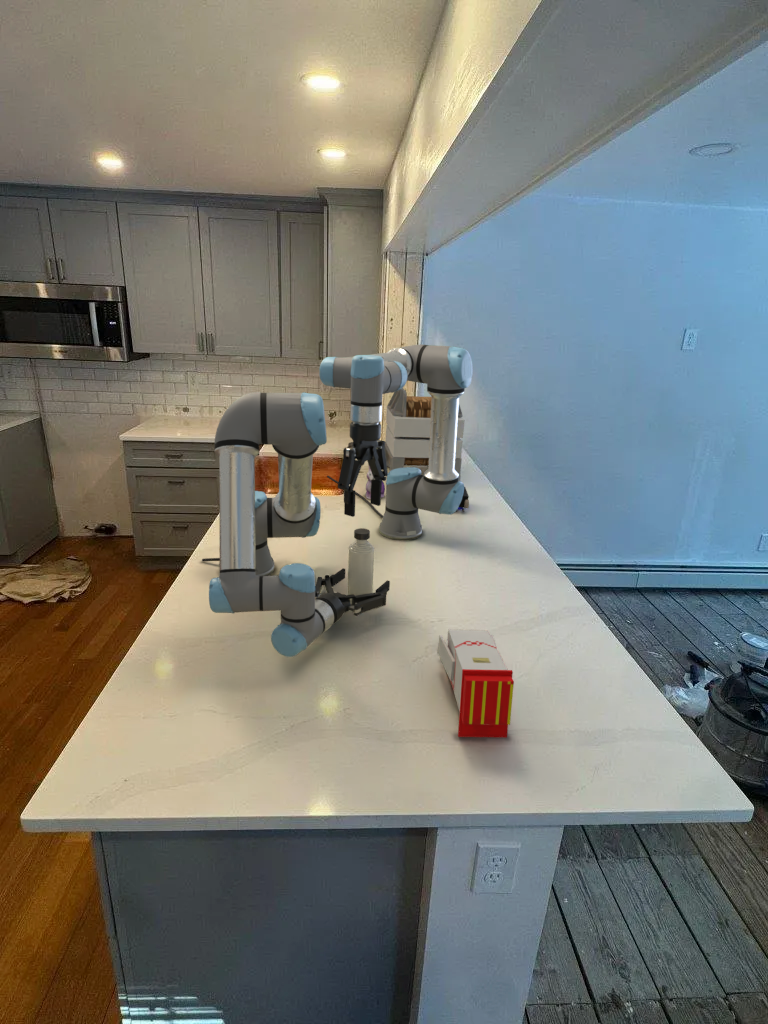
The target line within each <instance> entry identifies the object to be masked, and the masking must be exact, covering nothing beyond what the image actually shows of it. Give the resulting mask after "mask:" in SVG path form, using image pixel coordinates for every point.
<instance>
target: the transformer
mask: <svg viewBox="0 0 768 1024" xmlns="http://www.w3.org/2000/svg"><path fill="white" fill-rule="evenodd" d="M407 394H408V393H407V390H406V389H404V387H403V388H402V389H400V390H397V391H396V392H393V394H392V395H391V398H390V400H389V402H388V404H387V405H386V413H385V414H386V415H385V423H386V428H385V438H384V441H385V449H384V450H385V457H386V464H387V468H389V472H390V471H391V470H393V469H397V468H404V467H405V466H406V467H410V466H411V467H417V466H418V467H428V466H429V444H430V422H431V399H432V397H431V396H415V395H414V396H413V395H412V396H411V395H407ZM464 429H465V419H464V418H463V411H462V408H461V405H460V404H459V407H458V423H457V438H456V454H455V471H456V472H457V473H458V474H459V479H458V481H461V472H462V461H463V460H462V453H463V442H464V441H463V440H462V439H463V438H464V431H465V430H464Z"/></svg>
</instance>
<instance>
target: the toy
mask: <svg viewBox="0 0 768 1024" xmlns="http://www.w3.org/2000/svg"><path fill="white" fill-rule="evenodd" d="M446 640H447V643H446V641H445V639H444V636H443V635H442V634H439V637H438V646H437V656H438V657H439V659H440V661H441V663H442V666H443V668H444V670H445V672H446V674H447V677H448V679H449V681H450V684H451V687H452V690H453V693H454V697H455V701H456V705H457V708H458V711H459V714H458V715H459V716H458V730H457V731H458V732H457V737H458V738H508V731H509V726H510V725H511V717H512V707H513V697H514V696H513V695H514V684H515V680H514V679H513V673H514V671H513V670H512V669H508V667H507V665H506V662H505V661H504V659H503V658H502V655H501V653H500V651H499V649H498V647H497V643H496V639H495V637H494V635H493V634H491V632H490V631H489V629H467V628H466V629H465V628H463V629H461V628H460V629H459V628H448V630H447V639H446Z"/></svg>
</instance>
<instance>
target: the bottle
mask: <svg viewBox="0 0 768 1024" xmlns="http://www.w3.org/2000/svg"><path fill="white" fill-rule="evenodd" d="M347 558H348V560H347V563H348V564H347V595H350V594H354V595H362V594H368V593H374V569H375V568H374V567H375V547H374V545H373V544H372V543H371V542H370V541H369V540H368V539H367V540H357V539H355V540H354V541H353V542H352V543H350V545H349V546H348V556H347ZM350 603H351V604H352V599H350Z"/></svg>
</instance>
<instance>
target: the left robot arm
mask: <svg viewBox="0 0 768 1024" xmlns="http://www.w3.org/2000/svg"><path fill="white" fill-rule="evenodd" d="M322 397H323V396H321V395H320V394H318V393H307V392H305V391H304V392H261V391H255V392H253V391H252V392H248V393H245V394H243V395H241V396H239V397H238V398H237V399H235V400H234V401H233V402H232V403H231V404H230V405H229V406H228V408H227V409H226V410H225V412H223V415H222V416H221V417H220V420H219V423H218V425H217V428H216V432H215V436H214V454H215V455H216V456H217V457H218V458H219V459H218V460H219V461H218V462H219V466H218V467H219V470H218V472H219V473H218V474H219V478H218V480H219V481H218V483H219V485H218V486H219V491H218V492H219V504H218V505H219V557H211V558H210V557H209V558H207V557H206V558H202V559H201V561H202V562H219V574H218V576H217V577H212V578H211V579H210V580H209V584H208V586H209V587H208V603H209V608H210V610H211V611H212V612H213V613H214V614H236V613H251V612H274V611H275V612H276V611H277V612H278V611H279V612H280V623H279V624H277V625H276V627H275V628H274V629H273V630H272V631H271V634H270V641H271V644H272V646H273V648H274V649H275V651H276V652H277V653H278V654H280V655H281V656H284V657H286V658H292V657H293V658H294V657H296V656H297V655H298V654H300V653H301V652H303V651H305V650H306V649H307V648H308V647H309V646H310V645H312V643H313V642H315V641H316V640H317V639H318V638H319V637H321V635H323V634H324V633H325V632H327V631H328V630H329V629H330V628H331V627H332V626H334V625H335V624H336V623H337V622H338V621H340V620H341V619H342V617H343V616H344V614H345V613H347V612H351V613H353V615H354V617H359V616H360V615H361V614H362V613H367V612H369V611H372V610H375V609H378V608H381V607H385V606H386V605H387V595H388V593H389V591H390V585H391V581H390V580H388V579H387V580H385V582H384V583H382V584H381V585H380V586H379V587H378V588H376V589H375V592H373V593H368V594H362V595H354V594H350V595H348V594H344V593H341V592H338V591H337V592H335V590H334V588H333V587H335V586H336V585H337V584H339V583H340V582H342V581H343V580H344V579H346V568H343V567H342V568H341V569H340V570H338V571H337V572H335V573H333V574H330V575H329V574H324V578H323V576H318V577H317V579H316V577H315V576H316V575H315V570H314V569H313V568H312V567H311V566H310V565H307V564H305V563H300V562H294V563H291V564H286V565H283V566H282V567H281V568H280V570H279V574H277V575H272V574H273V573H274V571H275V561H274V558H273V556H272V554H271V551H270V547H269V545H268V539H278V538H279V539H280V538H282V539H283V538H303V539H304V538H305V539H306V538H309V537H310V538H311V537H315V536H316V535H317V534H318V532H319V529H320V524H321V522H320V521H321V511H322V510H321V501H320V499H319V498H318V497H317V496H315V495H314V494H313V493H312V480H313V479H312V478H313V465H314V464H313V463H314V462H313V461H314V455H315V454H316V453H317V451H318V450H319V448H320V446H322V445H323V446H324V445H326V444H327V442H328V441H327V440H328V438H327V437H328V436H327V425H326V417H325V406H324V404H325V403H324V400H323V398H322ZM260 445H262V446H263V445H264V446H265V445H266V446H268V445H271V447H272V448H273V450H274V451H275V452H276V453H277V463H278V464H277V466H278V470H277V471H278V492H277V493H276V494H275V497H268V496H267V494H266V492H264V491H260V490H256V475H255V472H256V471H255V470H256V466H255V465H256V464H255V461H256V457H257V456H259V454H260ZM323 587H324V589H325V592H324V593H322V588H323ZM350 599H352V604H351V603H350Z"/></svg>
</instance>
